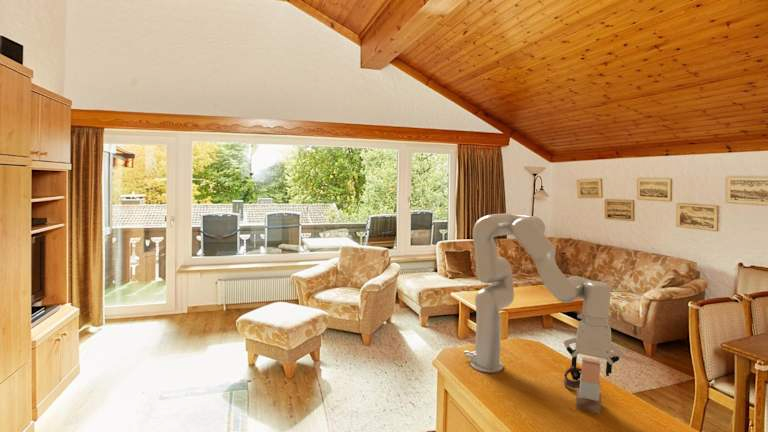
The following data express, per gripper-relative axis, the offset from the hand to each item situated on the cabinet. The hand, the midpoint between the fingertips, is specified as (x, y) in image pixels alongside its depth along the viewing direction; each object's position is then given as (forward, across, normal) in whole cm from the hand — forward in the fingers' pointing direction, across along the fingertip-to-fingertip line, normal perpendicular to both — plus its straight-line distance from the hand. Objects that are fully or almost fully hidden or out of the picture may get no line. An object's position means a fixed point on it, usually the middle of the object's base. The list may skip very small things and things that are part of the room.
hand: (590, 371), depth 136 cm
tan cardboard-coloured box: (+12, 0, 0) cm, 12 cm away
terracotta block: (+3, 0, 0) cm, 3 cm away
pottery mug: (+12, -3, +13) cm, 18 cm away
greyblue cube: (+8, 0, 0) cm, 8 cm away
